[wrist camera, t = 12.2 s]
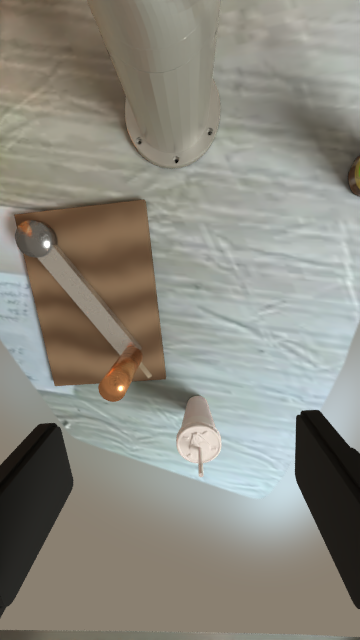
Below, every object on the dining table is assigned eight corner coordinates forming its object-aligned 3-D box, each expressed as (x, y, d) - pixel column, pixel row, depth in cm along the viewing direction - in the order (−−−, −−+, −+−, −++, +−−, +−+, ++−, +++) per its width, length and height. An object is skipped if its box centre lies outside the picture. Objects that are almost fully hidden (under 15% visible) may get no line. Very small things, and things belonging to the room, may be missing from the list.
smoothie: (185, 424, 44) (183, 497, 31) (174, 394, 43) (166, 456, 29) (219, 415, 43) (232, 486, 30) (209, 384, 42) (217, 444, 28)
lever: (18, 236, 36) (-62, 226, 25) (41, 214, 35) (-31, 193, 24) (129, 368, 40) (105, 410, 29) (152, 351, 39) (136, 388, 28)
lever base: (19, 216, 37) (13, 214, 36) (145, 201, 35) (144, 199, 34) (58, 382, 43) (54, 386, 42) (166, 375, 42) (165, 379, 41)
